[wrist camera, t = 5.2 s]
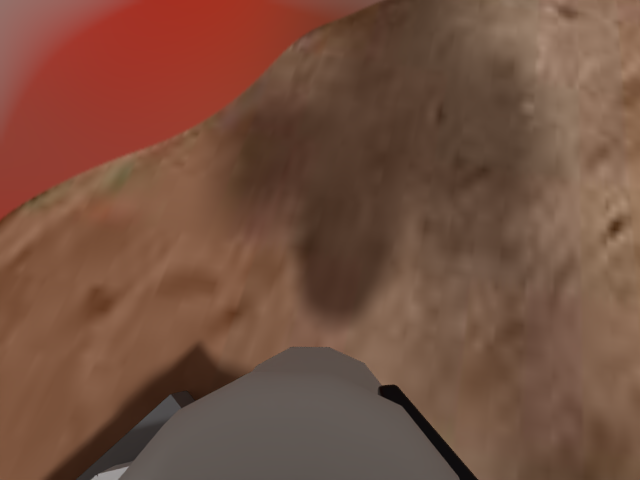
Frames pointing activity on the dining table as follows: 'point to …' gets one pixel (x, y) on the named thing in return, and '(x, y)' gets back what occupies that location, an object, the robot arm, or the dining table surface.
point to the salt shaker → (293, 428)
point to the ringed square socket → (135, 440)
